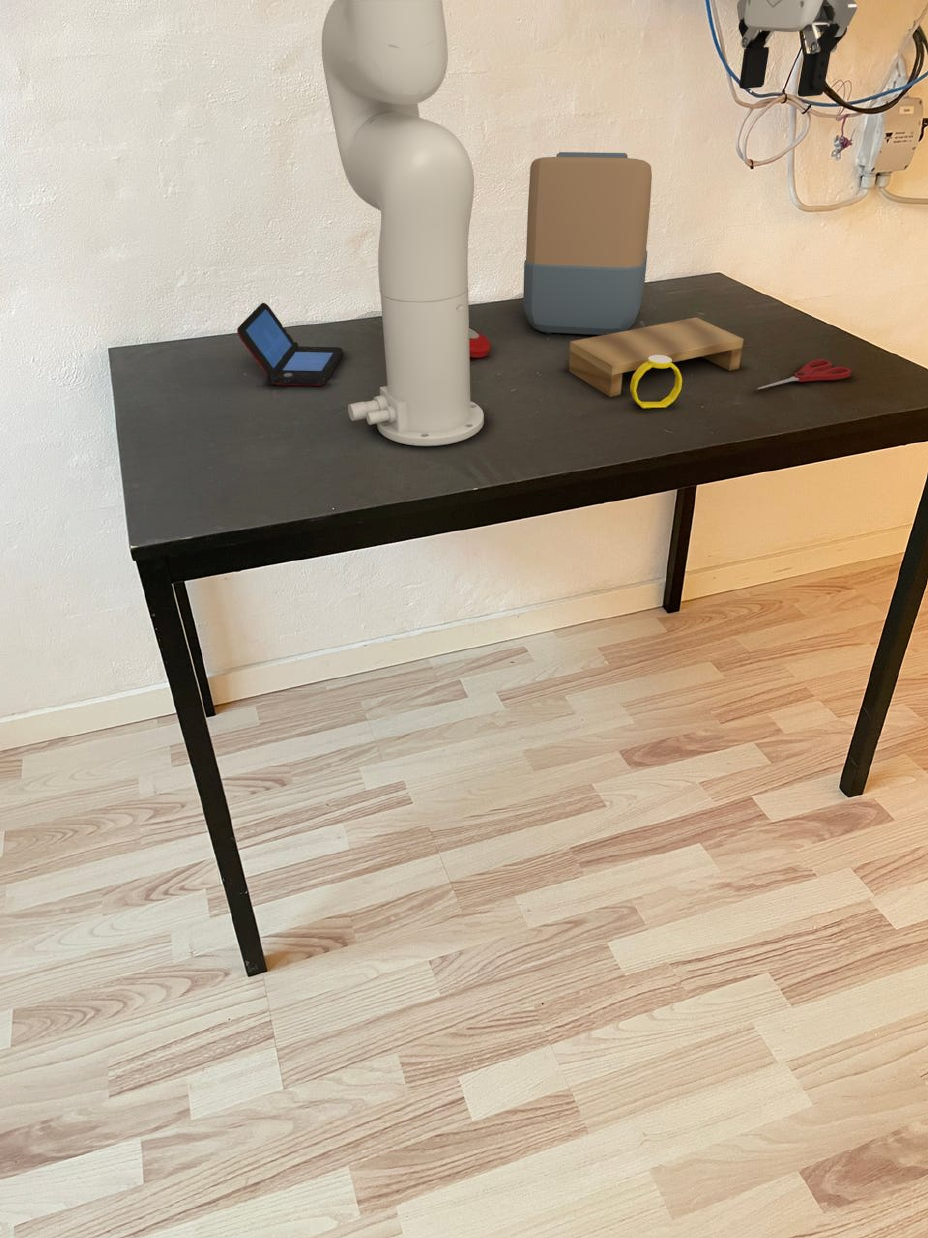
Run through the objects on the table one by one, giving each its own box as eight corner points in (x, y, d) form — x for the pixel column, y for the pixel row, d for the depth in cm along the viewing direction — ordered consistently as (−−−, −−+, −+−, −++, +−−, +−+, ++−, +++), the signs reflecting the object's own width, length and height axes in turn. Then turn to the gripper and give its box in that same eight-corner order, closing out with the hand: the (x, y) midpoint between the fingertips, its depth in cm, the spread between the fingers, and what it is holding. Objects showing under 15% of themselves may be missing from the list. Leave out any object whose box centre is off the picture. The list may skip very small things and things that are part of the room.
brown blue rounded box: (643, 308, 139) (659, 140, 125) (634, 344, 126) (651, 161, 112) (537, 303, 142) (541, 139, 128) (518, 337, 129) (520, 159, 115)
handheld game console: (324, 388, 115) (318, 331, 111) (243, 386, 116) (233, 329, 112) (345, 354, 125) (340, 300, 121) (271, 352, 126) (262, 299, 122)
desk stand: (609, 397, 111) (612, 365, 108) (568, 371, 118) (570, 341, 116) (738, 368, 117) (743, 338, 115) (692, 345, 125) (695, 317, 122)
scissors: (853, 377, 114) (855, 369, 113) (772, 399, 108) (774, 392, 108) (820, 364, 117) (822, 356, 117) (741, 385, 112) (742, 377, 112)
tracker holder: (506, 345, 123) (447, 343, 117) (496, 374, 126) (437, 373, 120) (462, 303, 130) (404, 299, 124) (453, 331, 132) (396, 328, 127)
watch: (633, 413, 106) (638, 364, 103) (626, 404, 109) (630, 356, 105) (681, 408, 107) (687, 360, 104) (673, 400, 109) (678, 352, 106)
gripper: (726, -96, 97) (705, 87, 107) (845, -108, 84) (807, 101, 94) (781, -96, 99) (755, 82, 109) (904, -108, 86) (861, 96, 97)
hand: (779, 91), depth 102 cm, fingers open, 9 cm apart
